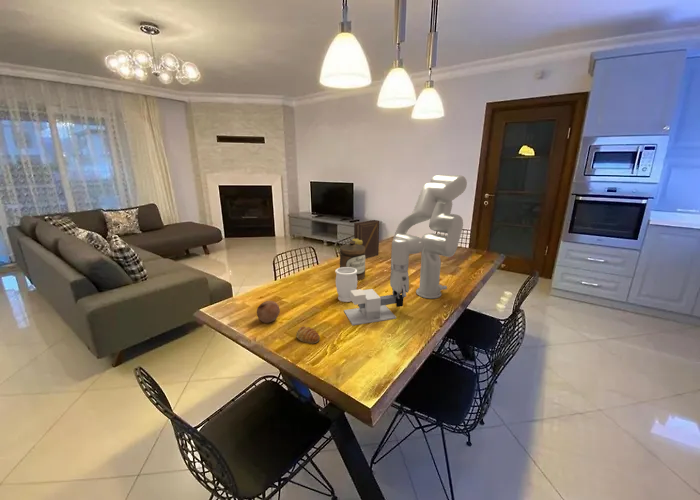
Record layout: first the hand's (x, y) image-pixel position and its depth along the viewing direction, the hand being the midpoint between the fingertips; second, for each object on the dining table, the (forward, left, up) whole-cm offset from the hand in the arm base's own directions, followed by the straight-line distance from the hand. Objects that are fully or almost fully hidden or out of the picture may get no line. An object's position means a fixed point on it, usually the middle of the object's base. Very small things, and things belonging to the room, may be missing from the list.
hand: (397, 304), depth 139 cm
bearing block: (+14, 0, -3) cm, 14 cm away
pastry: (+43, +10, -4) cm, 44 cm away
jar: (+19, -19, -3) cm, 27 cm away
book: (-14, -81, -3) cm, 82 cm away
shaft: (+8, 0, +1) cm, 9 cm away
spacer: (+19, 0, +4) cm, 20 cm away
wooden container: (+7, -47, -4) cm, 48 cm away
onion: (+57, -8, -4) cm, 57 cm away
